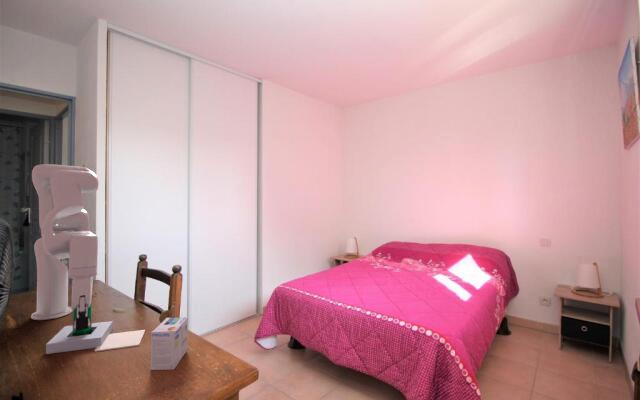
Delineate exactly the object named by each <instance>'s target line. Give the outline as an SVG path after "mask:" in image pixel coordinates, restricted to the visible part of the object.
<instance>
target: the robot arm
mask: <svg viewBox="0 0 640 400" xmlns="http://www.w3.org/2000/svg"><path fill="white" fill-rule="evenodd" d="M31 180H32V184H33V186H34V188H35V190H36V194H37V197H38V220H39V221H38V222H39V228H40V234H41V237H40V238H38V239H37V240H36V241H35V242H34V245H33V249H34V250H33V251H34V255H35V259H36V311H35V312H32V313H31V316H30V318H31V320H34V321H35V320H36V321H44V320H52V319H58V318H61V317H64V316H67V315H70V314H71V313H73V310H74V309H76V308H77V318H76V331H78V330H83V329H88V316H87V315H88V307H90V304H91V302H92V296H93V282H94V281H93V279H94V277H96V276H97V275H98V247H99V245H98V243H99V238H98V236H97V234H95V233H93V232H92V231H91V228H90V227H91V226H90V215H89V212H88V211H87V210H86V209H84V208H85V203H84V201H85V200H84V198H83V193H84V194H85V193H87V194H93V193H96V192H97V191H98V189H99V185H100V184H99V179H98V176H97V174H96V173H95V172H94V171H92V170H91V169H89V168H88V167H85V166H79V165H78V166H77V165H76V166H75V165H67V164H66V165H65V164H53V163H52V164H51V163H47V164H46V163H44V164H37V165H35V166H34V167H33V169H32V172H31ZM63 259H68V266H67V265H66V264H65V263H64V262H62V261H61V260H63ZM69 279H72V281H71V306H69ZM85 305H86V307H85ZM79 306H80V308H79ZM85 309H86V311H85ZM79 310H80V311H79ZM85 314H86V315H85Z"/></svg>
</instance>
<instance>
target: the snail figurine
mask: <svg viewBox="0 0 640 400" xmlns="http://www.w3.org/2000/svg"><path fill="white" fill-rule="evenodd" d="M172 304H173V305H171V308H170V309H171V310H170V309H165V310H163V311H162V312H161V313H160V315H159V318H158V319H159V322H160V324H161V323H162V322H163V321H164V320H165V319H166V318H175V311H176V309H177V307H176V304H177V302H175V301H173V302H172Z"/></svg>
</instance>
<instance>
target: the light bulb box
mask: <svg viewBox="0 0 640 400" xmlns="http://www.w3.org/2000/svg"><path fill="white" fill-rule="evenodd" d="M188 321H189V318H188V317H186V316H182V317H173V318H166V319H165V320H164V321H163V322H162V323H160V324H159V325H157V326H156V327H155V328H154V329H153V330H152V331H150V370H151V371H152V370H153V371H158V370H160V371H161V370H162V371H163V370H164V371H165V370H166V371H167V370H169V371H170V370H175V368H176V367H177V365H178V364H179V363H180V362H181V360H182V359H183V357H184V356H185V355H186V353H187V352H188Z"/></svg>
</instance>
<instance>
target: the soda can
mask: <svg viewBox="0 0 640 400" xmlns="http://www.w3.org/2000/svg"><path fill="white" fill-rule="evenodd" d="M85 307H86V305H85ZM79 308H80V306H79ZM79 311H80V310H79ZM85 311H86V309H85ZM85 315H86V314H85ZM87 316H88V329H83V330H78V331H76V318H77V308H76V309H74V310H72V325H73V333H72V336H81V335H89V334H92V323H93V303H92V301H91V304H90V307H88V315H87Z"/></svg>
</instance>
